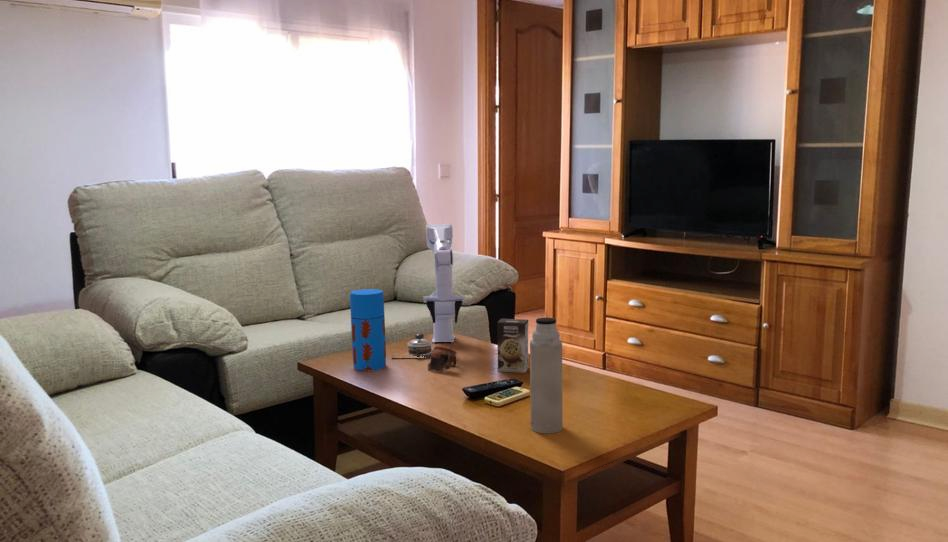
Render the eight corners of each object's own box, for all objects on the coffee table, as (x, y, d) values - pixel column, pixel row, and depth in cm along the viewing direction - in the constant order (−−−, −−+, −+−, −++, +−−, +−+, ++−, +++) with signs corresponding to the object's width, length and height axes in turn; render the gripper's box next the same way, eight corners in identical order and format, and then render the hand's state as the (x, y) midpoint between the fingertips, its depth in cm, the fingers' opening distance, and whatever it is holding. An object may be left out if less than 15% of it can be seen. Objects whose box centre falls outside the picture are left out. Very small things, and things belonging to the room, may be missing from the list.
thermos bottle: (529, 423, 200) (527, 315, 196) (560, 422, 200) (559, 315, 196) (532, 434, 192) (531, 322, 188) (564, 433, 193) (564, 321, 188)
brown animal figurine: (420, 369, 254) (427, 345, 257) (444, 378, 259) (450, 354, 261) (438, 368, 244) (445, 343, 247) (463, 377, 249) (469, 352, 251)
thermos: (383, 371, 252) (380, 294, 248) (350, 371, 252) (347, 295, 248) (388, 362, 262) (385, 288, 259) (356, 362, 263) (353, 289, 259)
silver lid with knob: (411, 340, 275) (411, 332, 275) (429, 340, 275) (429, 332, 275) (409, 345, 269) (409, 336, 269) (427, 344, 269) (427, 336, 268)
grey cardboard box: (497, 371, 248) (496, 322, 246) (501, 366, 254) (500, 317, 252) (525, 373, 246) (525, 322, 243) (529, 367, 252) (528, 318, 250)
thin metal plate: (396, 349, 279) (396, 339, 279) (446, 348, 279) (446, 338, 278) (391, 358, 266) (391, 348, 266) (444, 358, 266) (444, 347, 265)
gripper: (422, 286, 269) (423, 325, 271) (464, 285, 268) (465, 324, 270) (424, 282, 276) (425, 320, 278) (465, 282, 275) (466, 320, 277)
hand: (445, 322), depth 275 cm, fingers open, 7 cm apart
